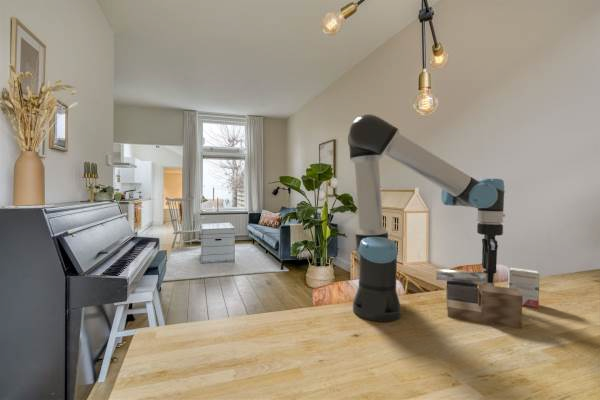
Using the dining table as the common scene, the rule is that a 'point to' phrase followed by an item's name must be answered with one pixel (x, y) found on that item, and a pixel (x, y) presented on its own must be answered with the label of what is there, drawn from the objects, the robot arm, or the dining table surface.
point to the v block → (462, 291)
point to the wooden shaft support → (491, 306)
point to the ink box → (525, 285)
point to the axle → (460, 276)
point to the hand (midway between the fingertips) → (488, 289)
